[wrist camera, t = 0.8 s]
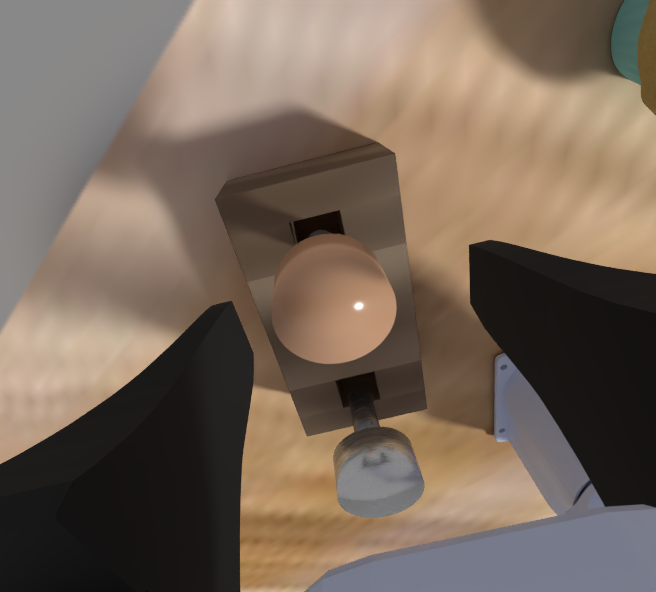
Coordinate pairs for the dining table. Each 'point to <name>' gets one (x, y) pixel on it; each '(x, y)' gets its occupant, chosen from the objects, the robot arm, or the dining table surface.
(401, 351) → the brown piece
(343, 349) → the terracotta plunger
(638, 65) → the cupcake
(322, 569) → the dining table surface
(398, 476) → the grey plunger
